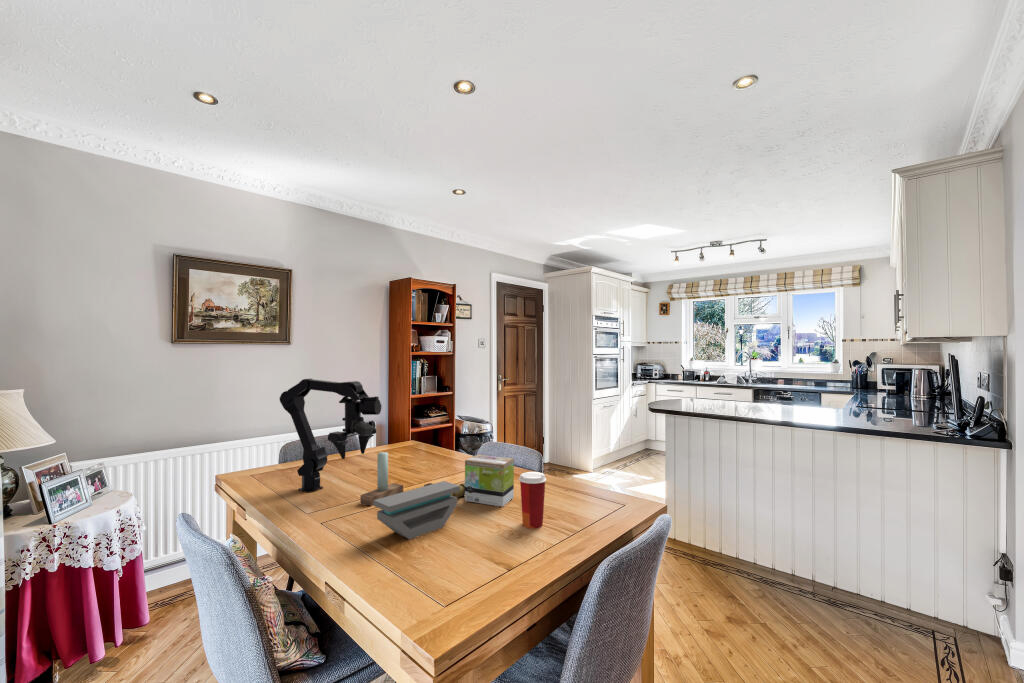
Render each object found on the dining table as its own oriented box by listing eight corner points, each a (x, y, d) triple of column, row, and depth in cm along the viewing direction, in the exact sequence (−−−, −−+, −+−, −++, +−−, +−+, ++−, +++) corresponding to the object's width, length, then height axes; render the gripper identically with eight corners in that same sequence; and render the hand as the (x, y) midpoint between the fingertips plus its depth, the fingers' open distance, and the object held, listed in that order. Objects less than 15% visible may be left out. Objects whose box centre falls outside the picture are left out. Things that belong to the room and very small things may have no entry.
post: (376, 491, 157) (376, 454, 158) (378, 488, 161) (379, 452, 161) (386, 491, 157) (386, 454, 158) (388, 488, 161) (389, 452, 161)
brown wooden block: (370, 506, 151) (371, 497, 151) (360, 504, 153) (360, 495, 153) (403, 493, 165) (403, 485, 165) (393, 491, 167) (393, 483, 167)
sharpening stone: (389, 547, 119) (389, 506, 119) (373, 539, 124) (373, 500, 125) (459, 521, 137) (459, 485, 138) (443, 515, 143) (443, 480, 143)
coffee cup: (549, 521, 137) (549, 472, 137) (542, 531, 129) (542, 479, 130) (523, 518, 140) (523, 470, 140) (515, 528, 132) (514, 477, 132)
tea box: (463, 502, 155) (463, 459, 155) (476, 493, 164) (476, 453, 165) (503, 507, 149) (503, 463, 150) (514, 498, 159) (514, 457, 159)
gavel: (413, 482, 169) (434, 476, 176) (413, 494, 169) (435, 488, 176) (448, 489, 155) (470, 483, 162) (449, 503, 155) (470, 496, 162)
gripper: (348, 419, 156) (348, 464, 156) (386, 412, 173) (387, 453, 172) (326, 417, 161) (326, 461, 161) (365, 411, 178) (366, 450, 177)
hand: (353, 456), depth 168 cm, fingers open, 9 cm apart
